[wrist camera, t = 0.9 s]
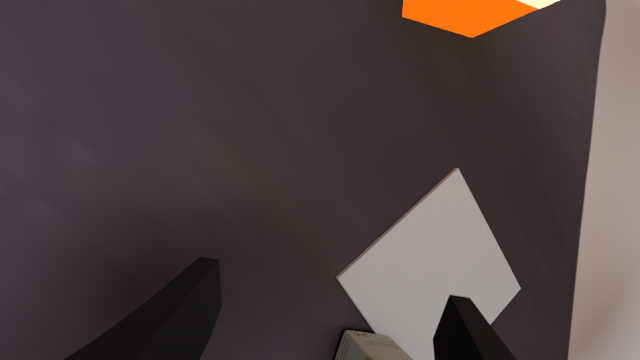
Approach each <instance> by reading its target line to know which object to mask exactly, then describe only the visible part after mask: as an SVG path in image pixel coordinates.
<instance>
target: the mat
mask: <svg viewBox="0 0 640 360" xmlns="http://www.w3.org/2000/svg"><path fill="white" fill-rule="evenodd" d="M336 279H337V280H338V282H339V283H340V285H341V286H342V287H343V289H344V290H345V292H346V293H347V295H348V296H349V298H350V299H351V300H352V302H353V303H354V305H355V306H356V308H357V309H358V310H359V312H360V313H361V315H362V316H363V318H364V319H365V320H366V322H367V323H368V325H369V326H370V328H371V329H372V330H373V332H374V333H375V334H377V335H381V336H386V337H390V338H391V339H393V340H394V341H395V342H396V343H397V344H398V345H399V346H400V347H401V348H402V349H403V350H404V351H405V352H406V353H407V354H408V355H409V356H410V357H411V358H412V359H413V360H435V358H434V348H433V337H434V334H435V332H436V329H437V326H438V324H439V321H440V319H441V316H442V313H443V311H444V308H445V305H446V303H447V300H448V297H449V295H455V296H462V297H468V298H470V299H471V300H472V301H473V303H474V304H475V305H476V307H477V308H478V309H479V311H480V312H481V313H482V315H483V316H484V317H485V319H486V320H487V321H488V323H489V324H491V323H492V322H493V321H494V320H495V318H496V317H497V316H498V315H499V314H500V313H501V311H502V310H503V309H504V308H505V307H506V305H507V304H508V303H509V302H510V301H511V299H512V298H513V297H514V296H515V295H516V294H517V292H518V291H519V290H520V289H521V288H520V286H519V284H518V282H517V280H516V278H515V276H514V274H513V272H512V271H511V269H510V267H509V265H508V263H507V261H506V259H505V257H504V255H503V253H502V251H501V249H500V248H499V246H498V244H497V242H496V240H495V238H494V236H493V234H492V232H491V230H490V228H489V226H488V225H487V223H486V221H485V219H484V217H483V215H482V213H481V211H480V209H479V207H478V205H477V203H476V201H475V200H474V198H473V196H472V194H471V192H470V190H469V188H468V186H467V184H466V182H465V180H464V178H463V177H462V175H461V173H460V171H459V169H458V168H455V169H454V170H452V171H451V172H450V173H449V174H448V175H447V176H446V177H445V178H444V179H443V180H441V181H440V182H439V183H438V184H437V185H436V186H435V187H434V188H433V189H432V190H430V191H429V192H428V193H427V194H426V195H425V196H424V197H423V198H422V199H421V200H419V201H418V202H417V203H416V204H415V205H414V206H413V207H412V208H411V209H410V210H408V211H407V212H406V213H405V214H404V215H403V216H402V217H401V218H400V219H399V220H397V221H396V222H395V223H394V224H393V225H392V226H391V227H390V228H389V229H388V230H386V231H385V232H384V233H383V234H382V235H381V236H380V237H379V238H378V239H377V240H375V241H374V242H373V243H372V244H371V245H370V246H369V247H368V248H367V249H366V250H364V251H363V252H362V253H361V254H360V255H359V256H358V257H357V258H356V259H355V260H353V261H352V262H351V263H350V264H349V265H348V266H347V267H346V268H345V269H344V270H342V271H341V272H340V273H339V274H338V275H337V276H336Z"/></svg>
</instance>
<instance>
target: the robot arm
mask: <svg viewBox="0 0 640 360" xmlns="http://www.w3.org/2000/svg"><path fill="white" fill-rule="evenodd" d="M221 306H222V305H221V288H220V272H219V260H217V259H210V258H204V257H199V258H198V259H197V260H195V261H194V262H193V263H192V264H191V265H190V266H188V267H187V268H186V269H185V270H184V271H183V272H181V273H180V274H179V275H178V276H177V277H176V278H174V279H173V280H172V281H171V282H170V283H168V284H167V285H166V286H165V287H164V288H162V289H161V290H160V291H159V292H158V293H156V294H155V295H154V296H153V297H151V298H150V299H149V300H148V301H146V302H145V303H144V304H143V305H141V306H140V307H139V308H138V309H136V310H135V311H134V312H132V313H131V314H130V315H128V316H127V317H125V318H124V319H123V320H121V321H120V322H119V323H117V324H116V325H115V326H113V327H112V328H111V329H109V330H108V331H106V332H105V333H104V334H102V335H101V336H99V337H98V338H96V339H95V340H93V341H92V342H90V343H89V344H87V345H86V346H84V347H83V348H81V349H80V350H78V351H77V352H75V353H74V354H72V355H70V356H69V357H67V358H66V359H64V360H199V359H200V357H201V355H202V353H203V351H204V349H205V347H206V345H207V343H208V341H209V339H210V336H211V334H212V331H213V328H214V326H215V323H216V320H217V317H218V314H219V311H220V309H221ZM433 348H434V358H435V360H516V358H515V357H514V356H513V355H512V353H511V352H510V351H509V350H508V348H507V347H506V346H505V344H504V343H503V342H502V340H501V339H500V338H499V336H498V335H497V334H496V332H495V331H494V330H493V328H492V327H491V326H490V324H489V323H488V321H487V320H486V319H485V317H484V316H483V315H482V313H481V312H480V311H479V309H478V308H477V307H476V305H475V304H474V303H473V301H472V300H471V299H470V298H468V297H462V296H455V295H449V297H448V300H447V303H446V305H445V308H444V311H443V313H442V316H441V319H440V321H439V324H438V326H437V329H436V332H435V334H434V337H433Z"/></svg>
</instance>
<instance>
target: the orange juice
mask: <svg viewBox="0 0 640 360" xmlns="http://www.w3.org/2000/svg"><path fill="white" fill-rule="evenodd" d="M557 1H559V0H403V13H402V17H405V18H408V19H412V20H415V21H418V22H422V23H425V24H428V25H432V26H435V27H438V28H442V29H445V30H448V31H452V32H455V33H458V34H462V35H465V36H468V37H472V38H473V37H475V36H477V35H480V34H482V33H484V32H486V31H489V30H491V29H493V28H495V27H498V26H500V25H502V24H505V23H507V22H509V21H511V20H514V19H516V18H518V17H521V16H523V15H525V14H527V13H530V12H532V11H534V10H536V9H541V8H543V7H545V6H548V5H550V4H552V3H554V2H557Z"/></svg>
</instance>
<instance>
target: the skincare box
mask: <svg viewBox="0 0 640 360" xmlns="http://www.w3.org/2000/svg"><path fill="white" fill-rule="evenodd" d="M335 360H413V359H412V358H411V357H410V356H409V355H408V354H407V353H406V352H405V351H404V350H403V349H402V348H401V347H400V346H399V345H398V344H397V343H396V342H395V341H394V340H393V339H391V338H390V337H386V336H381V335H377V334H371V333H366V332H360V331H352V330H346V331H345V332H344V335H343V337H342V340H341V343H340V346H339V349H338V351H337V354H336V357H335Z"/></svg>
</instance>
